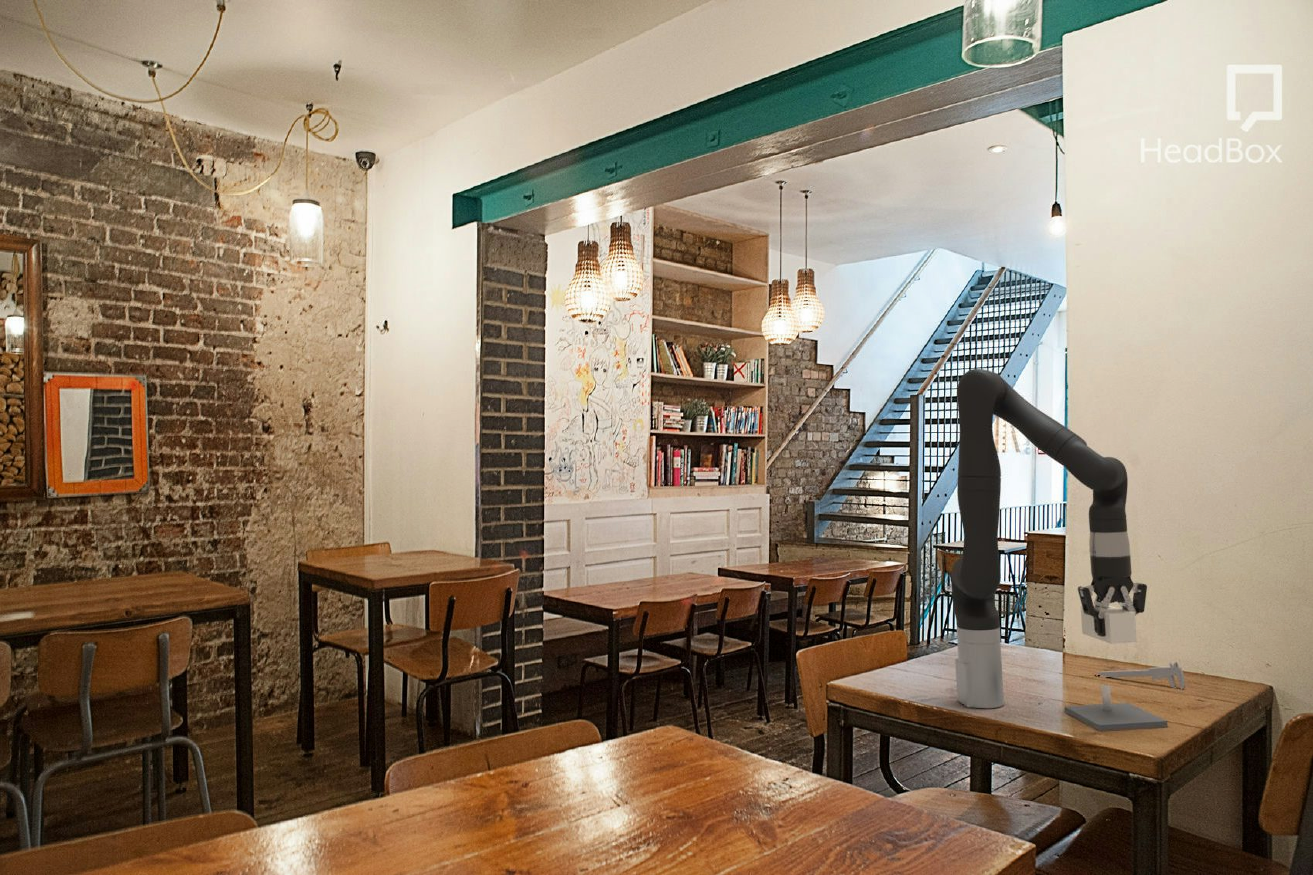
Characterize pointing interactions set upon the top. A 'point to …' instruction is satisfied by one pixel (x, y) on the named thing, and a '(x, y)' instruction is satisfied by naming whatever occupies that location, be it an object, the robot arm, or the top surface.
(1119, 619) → the socket block
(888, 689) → the top surface
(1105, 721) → the pin plate
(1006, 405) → the robot arm
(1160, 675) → the caliper
